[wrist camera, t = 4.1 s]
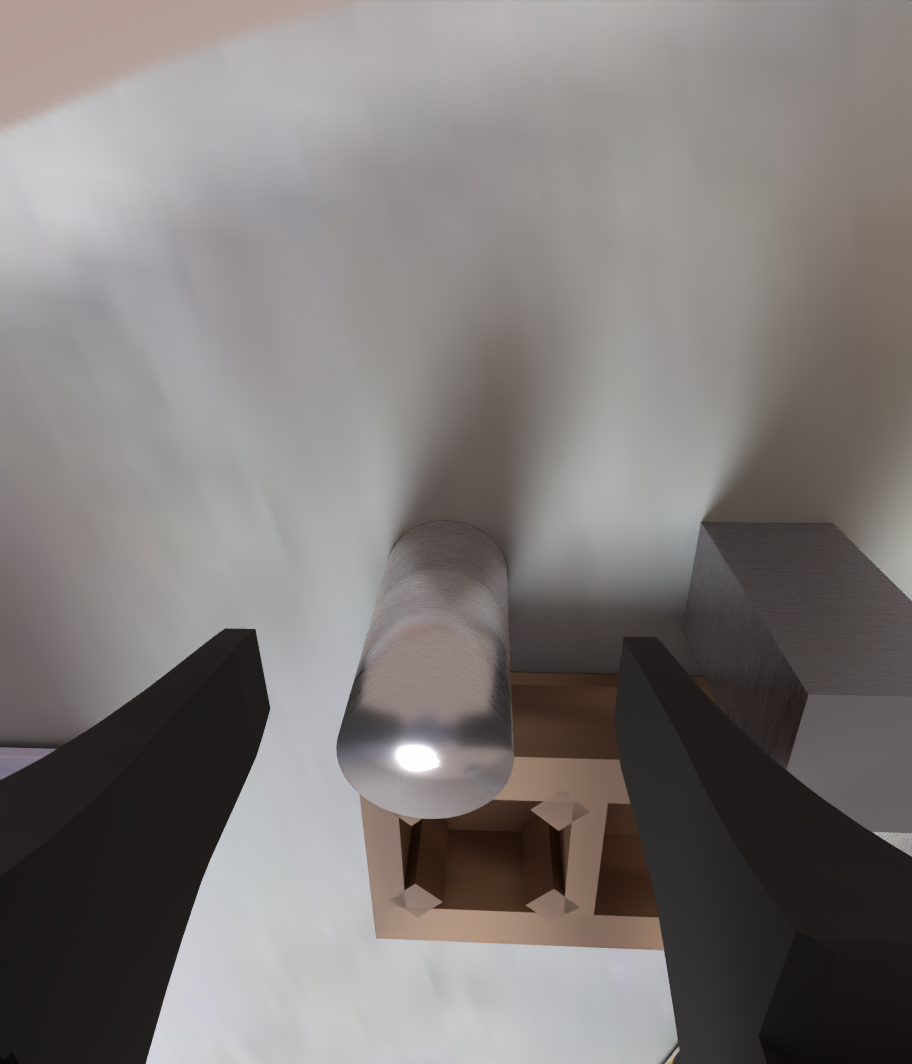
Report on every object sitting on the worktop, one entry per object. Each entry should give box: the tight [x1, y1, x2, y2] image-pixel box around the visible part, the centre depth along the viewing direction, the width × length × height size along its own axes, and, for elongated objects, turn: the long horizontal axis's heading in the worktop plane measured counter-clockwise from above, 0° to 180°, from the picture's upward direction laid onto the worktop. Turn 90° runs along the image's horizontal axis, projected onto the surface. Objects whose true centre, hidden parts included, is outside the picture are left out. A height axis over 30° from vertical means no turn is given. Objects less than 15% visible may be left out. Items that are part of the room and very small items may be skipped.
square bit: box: [683, 522, 912, 833], centre depth 14 cm, size 3×3×6 cm
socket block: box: [360, 672, 716, 950], centre depth 18 cm, size 11×7×3 cm, turn 91°
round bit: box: [337, 521, 514, 819], centre depth 14 cm, size 3×3×6 cm
